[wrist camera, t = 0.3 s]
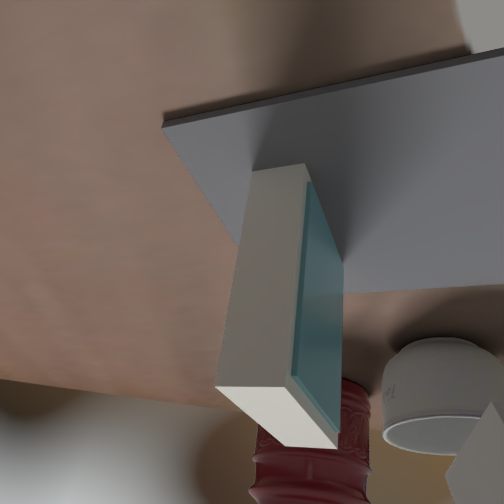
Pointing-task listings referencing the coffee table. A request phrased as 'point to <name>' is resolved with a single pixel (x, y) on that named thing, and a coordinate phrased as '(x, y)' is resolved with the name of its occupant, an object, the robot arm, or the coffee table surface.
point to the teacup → (438, 394)
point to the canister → (318, 461)
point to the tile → (285, 313)
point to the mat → (376, 168)
